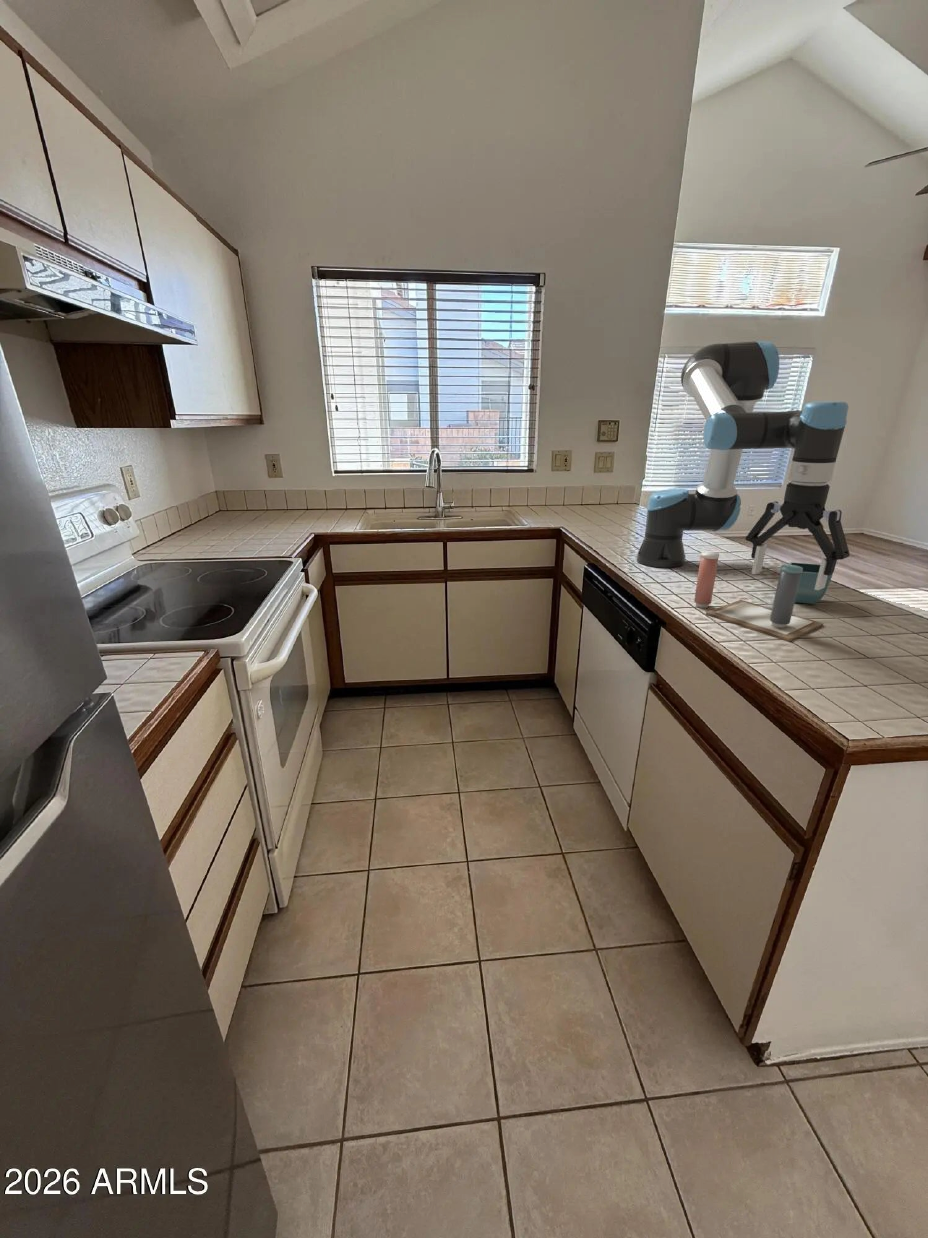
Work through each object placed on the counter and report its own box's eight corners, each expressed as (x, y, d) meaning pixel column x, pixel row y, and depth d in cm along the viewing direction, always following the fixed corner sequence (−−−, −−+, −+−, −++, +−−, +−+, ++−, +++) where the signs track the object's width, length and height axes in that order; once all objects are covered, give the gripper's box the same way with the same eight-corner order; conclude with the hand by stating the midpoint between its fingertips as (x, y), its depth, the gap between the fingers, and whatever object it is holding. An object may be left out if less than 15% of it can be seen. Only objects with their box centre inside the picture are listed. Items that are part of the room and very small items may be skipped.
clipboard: (705, 614, 128) (706, 609, 127) (740, 601, 135) (741, 596, 134) (788, 641, 112) (790, 635, 111) (822, 625, 119) (824, 620, 119)
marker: (764, 624, 119) (777, 566, 113) (776, 621, 120) (789, 563, 115) (781, 630, 115) (794, 570, 110) (793, 627, 117) (807, 568, 112)
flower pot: (784, 603, 133) (791, 570, 129) (782, 593, 140) (789, 561, 137) (824, 608, 129) (833, 574, 126) (820, 597, 136) (829, 565, 133)
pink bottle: (690, 605, 134) (697, 553, 128) (699, 602, 136) (707, 550, 130) (704, 610, 130) (712, 556, 125) (714, 606, 132) (722, 553, 127)
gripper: (740, 478, 113) (723, 569, 122) (870, 492, 94) (840, 600, 102) (758, 474, 117) (742, 564, 125) (888, 487, 98) (858, 592, 106)
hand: (786, 580), depth 114 cm, fingers open, 13 cm apart
